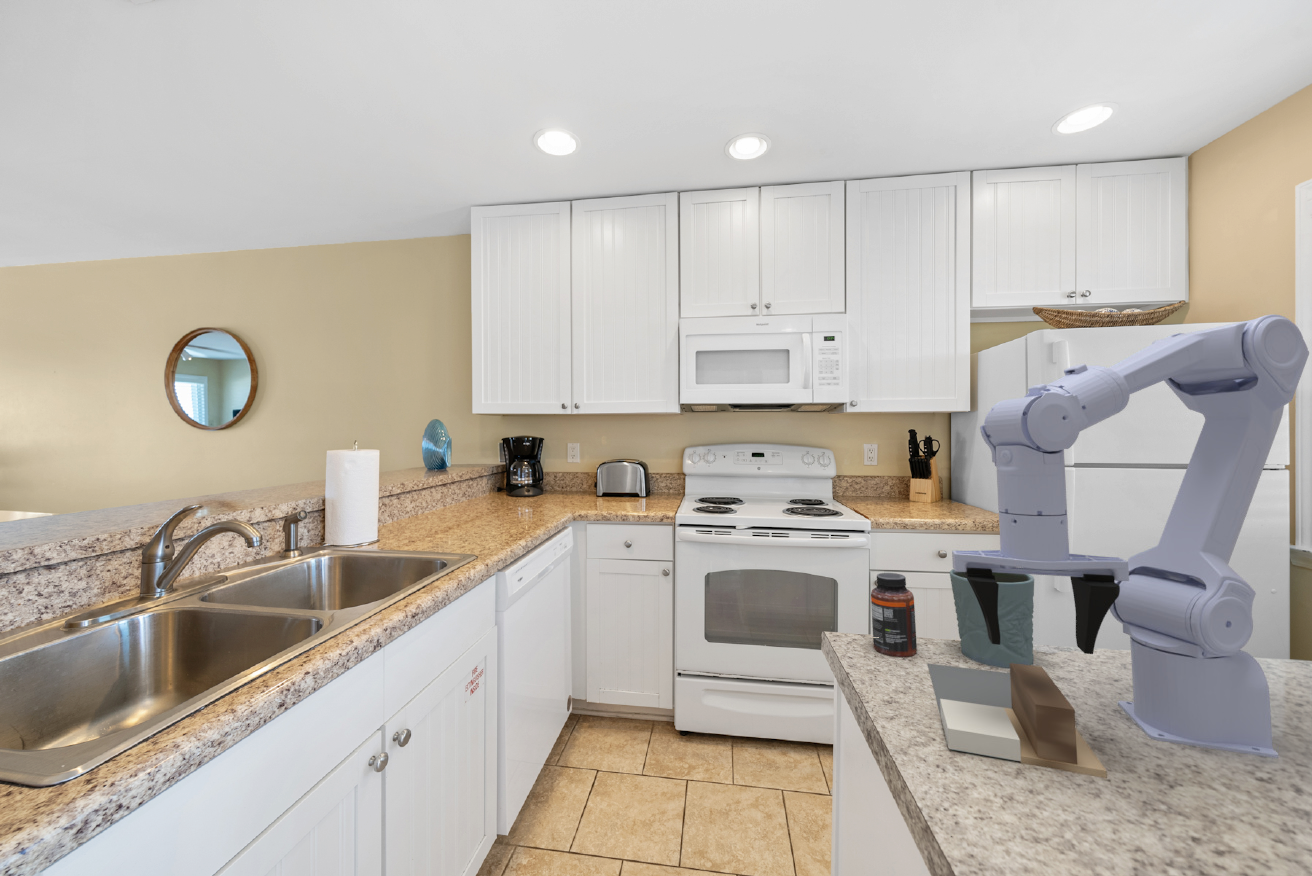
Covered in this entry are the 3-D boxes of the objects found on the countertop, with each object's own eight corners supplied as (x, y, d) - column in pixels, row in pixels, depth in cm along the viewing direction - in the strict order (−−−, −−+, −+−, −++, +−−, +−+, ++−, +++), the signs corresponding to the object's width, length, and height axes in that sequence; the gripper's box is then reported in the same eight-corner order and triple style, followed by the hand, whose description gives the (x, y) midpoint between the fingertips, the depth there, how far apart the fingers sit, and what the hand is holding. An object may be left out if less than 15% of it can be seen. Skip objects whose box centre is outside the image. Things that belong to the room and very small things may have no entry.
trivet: (1068, 725, 55) (1067, 716, 55) (1107, 781, 46) (1106, 770, 46) (997, 714, 58) (997, 706, 58) (1020, 765, 49) (1020, 755, 49)
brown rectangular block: (1044, 712, 56) (1041, 666, 56) (1077, 764, 47) (1074, 709, 47) (1011, 707, 57) (1009, 662, 58) (1038, 757, 48) (1035, 704, 48)
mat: (1031, 678, 67) (1031, 675, 67) (1095, 773, 47) (1095, 769, 47) (927, 665, 71) (927, 663, 71) (947, 747, 52) (947, 744, 52)
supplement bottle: (907, 644, 79) (904, 570, 79) (924, 659, 73) (920, 580, 74) (867, 643, 80) (864, 570, 80) (880, 659, 74) (877, 580, 74)
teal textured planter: (1054, 674, 67) (1050, 583, 68) (971, 671, 69) (967, 582, 69) (1014, 645, 77) (1010, 565, 78) (942, 643, 79) (939, 565, 79)
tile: (1003, 707, 55) (1019, 739, 49) (1004, 728, 55) (1020, 762, 49) (940, 698, 57) (947, 728, 51) (940, 718, 57) (948, 750, 51)
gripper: (1104, 509, 54) (1111, 640, 53) (946, 507, 59) (951, 625, 59) (1136, 518, 47) (1144, 667, 47) (955, 514, 53) (961, 647, 52)
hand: (1038, 645), depth 52 cm, fingers open, 7 cm apart
